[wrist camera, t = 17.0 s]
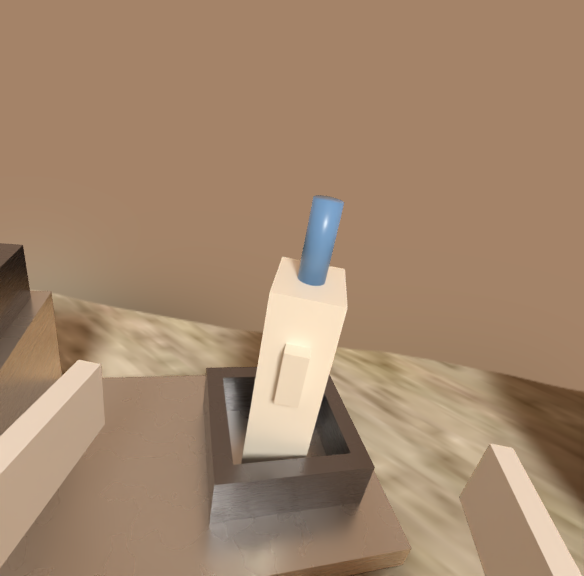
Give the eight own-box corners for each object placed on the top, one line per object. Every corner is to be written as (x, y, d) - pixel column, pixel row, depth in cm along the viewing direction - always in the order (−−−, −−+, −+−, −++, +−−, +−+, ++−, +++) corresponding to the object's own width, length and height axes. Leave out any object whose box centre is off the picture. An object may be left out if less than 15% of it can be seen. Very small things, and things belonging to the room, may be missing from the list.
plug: (236, 485, 21) (282, 207, 14) (254, 416, 26) (295, 183, 19) (297, 498, 21) (373, 226, 14) (304, 426, 26) (363, 197, 19)
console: (-448, 736, 11) (-992, 455, 6) (-124, 402, 23) (-205, 207, 18) (402, 564, 20) (498, 387, 15) (322, 386, 32) (359, 251, 27)
